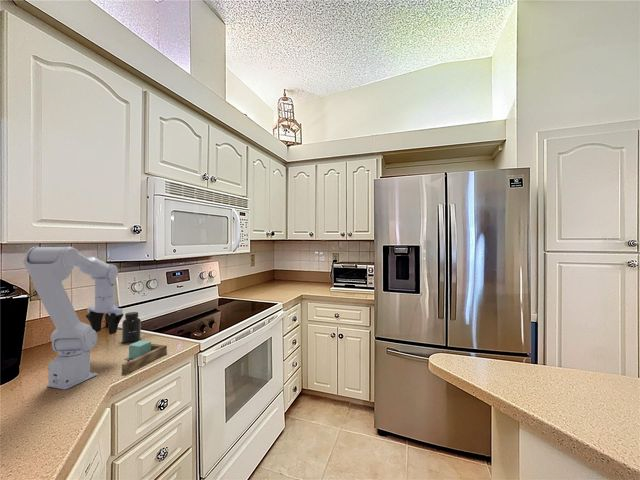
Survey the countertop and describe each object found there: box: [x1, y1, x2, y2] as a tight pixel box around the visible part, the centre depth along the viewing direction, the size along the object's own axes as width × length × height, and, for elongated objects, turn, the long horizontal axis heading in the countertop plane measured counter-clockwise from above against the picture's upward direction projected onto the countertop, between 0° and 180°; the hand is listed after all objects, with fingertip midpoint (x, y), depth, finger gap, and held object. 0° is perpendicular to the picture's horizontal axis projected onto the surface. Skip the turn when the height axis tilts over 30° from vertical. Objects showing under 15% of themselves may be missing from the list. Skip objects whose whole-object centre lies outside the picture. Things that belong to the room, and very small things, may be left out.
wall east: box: [151, 343, 168, 355], centre depth 111 cm, size 2×11×3 cm, turn 75°
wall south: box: [121, 347, 165, 375], centre depth 101 cm, size 16×2×3 cm, turn 165°
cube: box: [128, 339, 152, 359], centre depth 106 cm, size 5×5×5 cm
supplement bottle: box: [121, 311, 142, 344], centre depth 124 cm, size 7×7×12 cm
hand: (104, 332), depth 104 cm, fingers open, 7 cm apart
